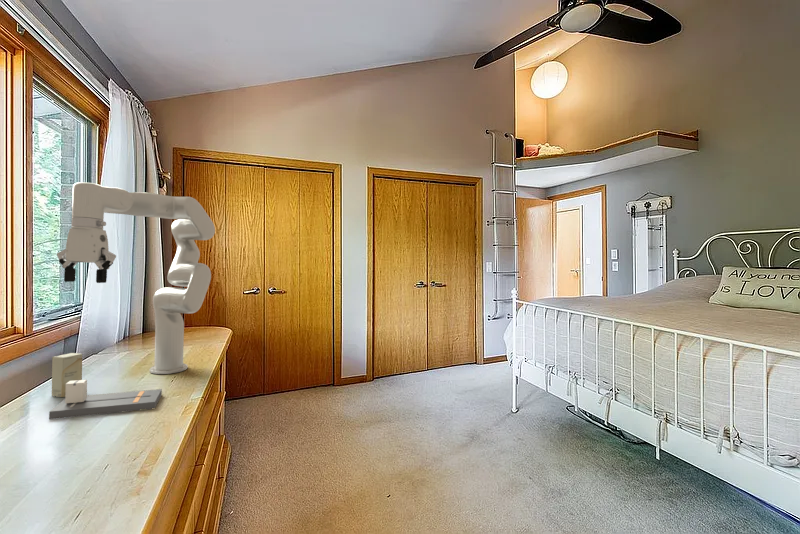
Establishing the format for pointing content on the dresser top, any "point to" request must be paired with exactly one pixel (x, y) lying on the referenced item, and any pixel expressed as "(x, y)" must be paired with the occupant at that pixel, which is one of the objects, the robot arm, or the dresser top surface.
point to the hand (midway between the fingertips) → (85, 282)
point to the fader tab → (76, 391)
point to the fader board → (108, 404)
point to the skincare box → (65, 372)
